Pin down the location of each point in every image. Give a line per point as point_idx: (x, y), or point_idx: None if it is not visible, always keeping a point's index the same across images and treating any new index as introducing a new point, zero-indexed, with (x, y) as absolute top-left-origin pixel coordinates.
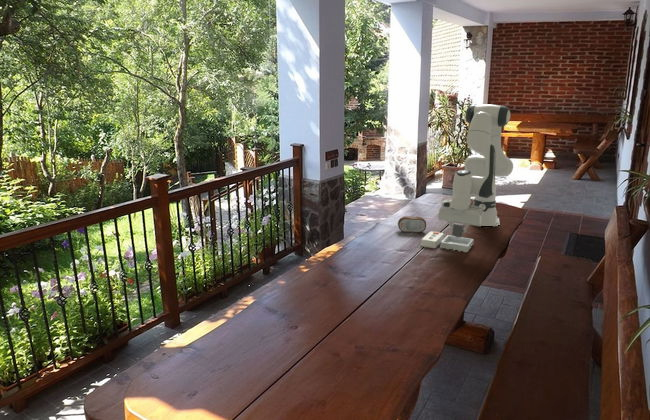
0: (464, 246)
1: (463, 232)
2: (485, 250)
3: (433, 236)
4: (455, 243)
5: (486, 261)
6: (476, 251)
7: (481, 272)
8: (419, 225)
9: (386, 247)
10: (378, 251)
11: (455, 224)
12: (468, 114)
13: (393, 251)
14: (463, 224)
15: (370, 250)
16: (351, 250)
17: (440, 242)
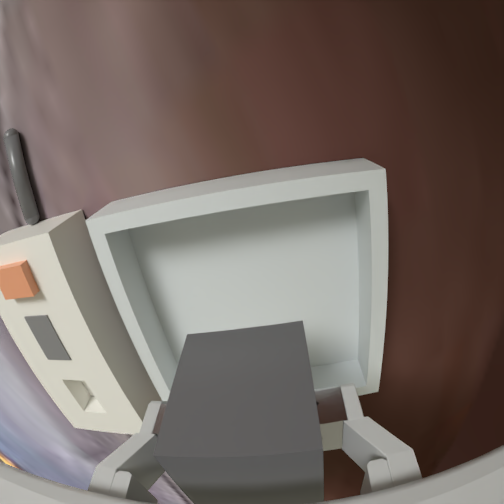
0: None
1: (307, 348)
2: (472, 236)
3: (63, 359)
4: (221, 264)
5: (468, 388)
6: (421, 299)
7: (438, 461)
8: None
9: (45, 444)
10: (68, 472)
11: (206, 494)
12: None
13: (88, 466)
14: (312, 461)
15: (52, 469)
16: (36, 473)
17: (110, 295)
